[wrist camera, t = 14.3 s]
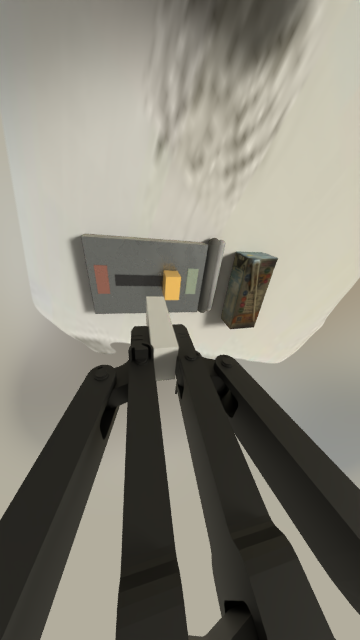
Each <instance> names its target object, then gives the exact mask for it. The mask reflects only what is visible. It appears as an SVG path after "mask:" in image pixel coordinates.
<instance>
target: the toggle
mask: <svg viewBox="0 0 360 640" xmlns="http://www.w3.org/2000/svg"><path fill="white" fill-rule="evenodd" d="M180 284H181V276H180V274H179V273H178V271H169V270H163V291H162V292H163V296H164V299H165V300H179V294H180Z"/></svg>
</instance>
